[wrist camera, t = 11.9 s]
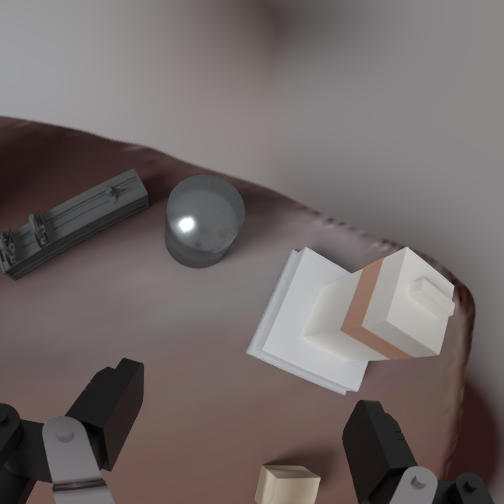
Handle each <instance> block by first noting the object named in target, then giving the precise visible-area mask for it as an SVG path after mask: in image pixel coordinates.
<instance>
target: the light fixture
mask: <svg viewBox="0 0 504 504" xmlns="http://www.w3.org/2000/svg"><path fill="white" fill-rule="evenodd" d="M145 208H146V209H148V193H147V191H146V189H145V187H144V185H143V183H142V181H141V180H140V178H139V176H138V174H137V172H136V170H135V169H134V168H133V169H131V170H129V171H127V172H124V173H122V174H120V175H118V176H116V177H114V178H111V179H109V180H107V181H105V182H103V183H101V184H99V185H97V186H95V187H93V188H91V189H89V190H87V191H85V192H83V193H81V194H79V195H77V196H75V197H73V198H72V199H70V200H68V201H66V202H64V203H62V204H60V205H59V206H57V207H55V208H53V209H51V210H50V211H48V212H46V213H44V214H42V215H41V213H40V211H39V213H38V214H37V213H34V212H33V214H30V215H29V221H30V222H29V223H27V224H25V225H24V226H22V227H20V228H19V229H17V230H16V231H14V232H11V229H10V228H9V231H8V232H7V230H4V231H3V232H0V265H1V269H2V271H3V273H4V274H6V275H7V276H9V277H10V278H12V279H14V280H15V281H16V280H17V279H18V278H20V277H22V276H23V275H25V274H26V273H28V272H30V271H31V270H33V269H34V268H36V267H38V266H39V265H41V264H43V263H44V262H46V261H48V260H49V259H51V258H53V257H55V256H56V255H58V254H60V253H61V252H63V251H65V250H67V249H68V248H70V247H72V246H74V245H75V244H77V243H79V242H81V241H83V240H84V239H86V238H88V237H90V236H92V235H94V234H96V233H97V232H99V231H101V230H103V229H105V228H107V227H109V226H111V225H113V224H115V223H117V222H119V221H121V220H123V219H125V218H127V217H129V216H131V215H133V214H135V213H137V212H139V211H141V210H143V209H145Z"/></svg>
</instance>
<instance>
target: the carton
mask: <svg viewBox="0 0 504 504" xmlns="http://www.w3.org/2000/svg"><path fill="white" fill-rule="evenodd" d="M453 291H454V285H452V284H451V283H450V282H449V281H448V280H447V279H445V278H444V277H443V276H442V275H441V274H440V273H438V272H437V271H436V270H435V269H434V268H432V267H431V266H430V265H429V264H428V263H426V262H425V261H424V260H423V259H421V258H420V257H419V256H418V255H416V254H415V253H414V252H413V251H411V250H410V249H409V248H408V247H405V248H403V249H401V250H400V251H398V252H396V253H394V254H392V255H389V256H387V257H383V258H381V259H379V260H377V261H375V262H373V263H371V264H369V265H367V266H365V267H364V268H363V269H361V270H359V271H356V272H354V273H352V274H350V275H348V276H346V277H344V278H342V279H339V280H337V281H335V282H333V283H331V284H329V285H326V286H324V287H323V288H322V291H321V293H320V295H319V298H318V300H317V302H316V305H315V307H314V309H313V311H312V314H311V316H310V318H309V320H308V323H307V325H306V327H305V329H304V331H303V334H302V336H301V338H303V339H305V340H307V341H309V342H311V343H312V344H314V345H316V346H318V347H320V348H321V349H323V350H325V351H327V352H329V353H331V354H333V355H334V356H336V357H338V358H340V359H342V360H344V361H346V362H351V361H374V360H403V359H415V358H416V357H427V356H436V355H439V354H440V351H441V347H442V343H443V339H444V335H445V330H446V326H447V322H448V317H449V316H453V313H454V307H455V303H454V302H452V296H453Z"/></svg>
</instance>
